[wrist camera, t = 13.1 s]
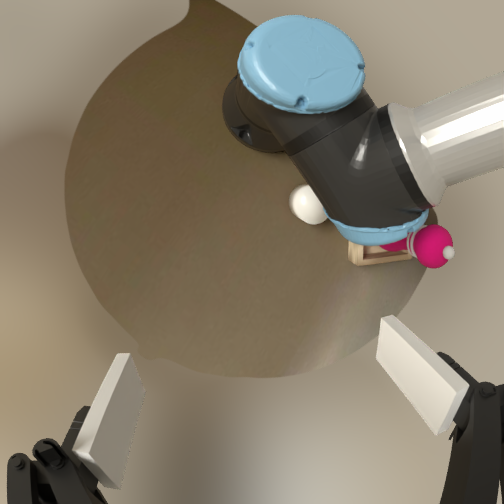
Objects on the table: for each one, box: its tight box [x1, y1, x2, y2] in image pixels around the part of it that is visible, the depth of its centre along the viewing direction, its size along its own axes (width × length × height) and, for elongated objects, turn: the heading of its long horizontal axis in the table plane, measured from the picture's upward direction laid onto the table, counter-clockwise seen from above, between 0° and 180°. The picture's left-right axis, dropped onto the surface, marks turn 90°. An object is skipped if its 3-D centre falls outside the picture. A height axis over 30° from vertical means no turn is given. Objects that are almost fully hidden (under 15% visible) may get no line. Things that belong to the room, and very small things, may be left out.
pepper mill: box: [379, 224, 455, 268], centre depth 38 cm, size 7×7×20 cm
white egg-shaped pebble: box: [289, 184, 328, 224], centre depth 44 cm, size 6×6×4 cm
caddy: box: [348, 241, 412, 266], centre depth 47 cm, size 12×12×4 cm
